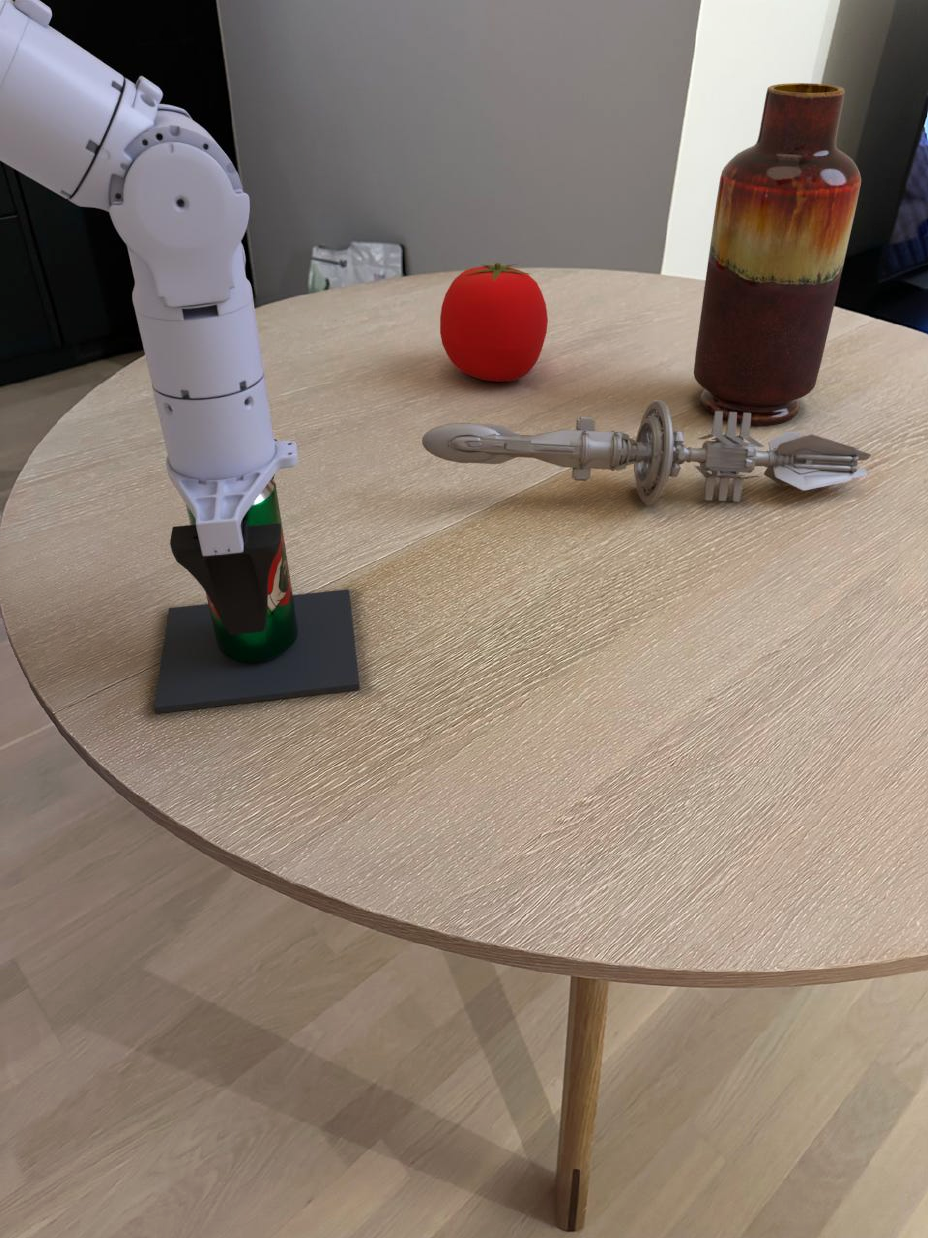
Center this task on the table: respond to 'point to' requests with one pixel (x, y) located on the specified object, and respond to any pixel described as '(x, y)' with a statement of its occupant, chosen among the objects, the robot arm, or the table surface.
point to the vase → (776, 258)
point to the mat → (215, 679)
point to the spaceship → (658, 453)
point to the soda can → (280, 596)
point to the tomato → (493, 322)
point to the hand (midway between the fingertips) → (248, 591)
